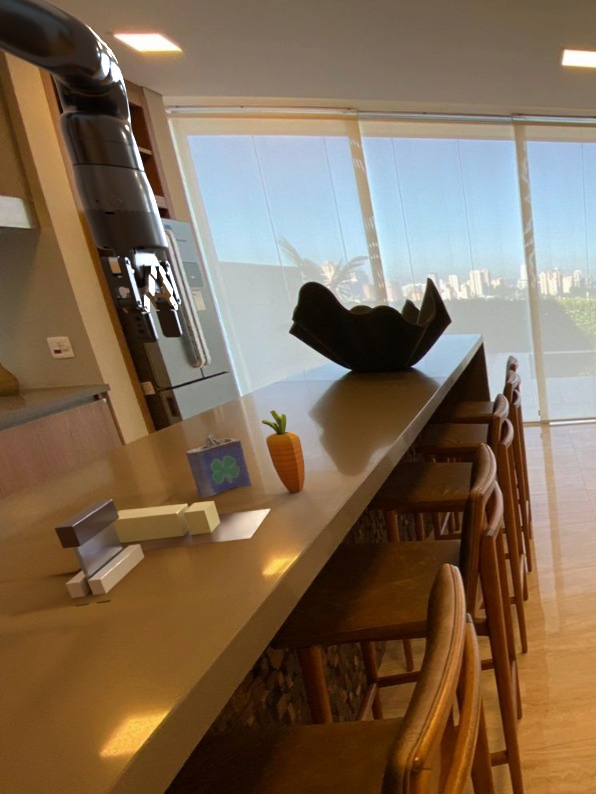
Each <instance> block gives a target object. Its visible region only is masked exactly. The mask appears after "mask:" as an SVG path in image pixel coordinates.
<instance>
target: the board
mask: <svg viewBox="0 0 596 794" xmlns="http://www.w3.org/2000/svg"><path fill="white" fill-rule="evenodd" d="M270 511H271V508H266V509H257V510H248V511H238V512H227V513H221V514H220V513H218V516H219V520H220V524H219V525H218V526H217V527H216V528H215V529H214V530H213V531H212V533H205V534H196V535H191V534H190V531H188V532H187V533H186V534H185V535H184V536H179V537H170V538H162V539H153V540H144V541H136V542H127V543H121V545H122V548H123V550H124V549H125V548H127V547H128V546H129V545H137V544H140V546H141V549H142V552H143V553H144V552H150V551H158V550H159V551H160V550H167V549H175V548H176V549H177V548H185V547H192V546H199V545H201V546H202V545H208V544H209V545H210V544H216V543H225V542H233V541H241V540H249V539H251V538H252V536H253V535H254V534H255V532H256V530H257V529H258V528H259V526H260V525H261V524H262V522H263V521H264V519H265V518H266V516H267V515H268V514H269V512H270Z"/></svg>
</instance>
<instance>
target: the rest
mask: <svg viewBox="0 0 596 794" xmlns="http://www.w3.org/2000/svg"><path fill="white" fill-rule="evenodd" d="M144 558H145V555H144V551H143V552H142V549H141V546H140V544H137V545H129V546H128V547H127V548H125V549H124V550H123V551H122V552H121V553H120V554H118V555H117V556H116V557H115V558H114V559H113V560H111V561H110V562H109V563H108V564H107V565H106V566H104V567H103V568H102V569H101V570H100V571H99V572H97V573H96V574H95V575H94V576H93V577H92V578H91V579H89V580H88V582H87V580H86V577H85V575H84V573H83V570H82V569H81V571H79V572H78V573H77V574H76V575H75V576H73V577H72V578H70V579H69V580H68V581H67V582H65V585H66V586H65V587H66V589H67V590H68V593H69V595H70V598H71V599H74V598H75V599H76V598H82V597H86V596H87V595H88V594H89V593H90V592H91V590H92V592H91V593H92V595H93V596H96V595H106V594H107V593H108V592H110V591H111V590H112V589H113V588H114V586H116V585H117V584H118V583H119V582H121V580H122V579H124V578H125V576H127V574H128V573H129V572H130V571H132V570H133V569H134V568H135V567H136V566H137V565H138V564H139V563H140V562H141V561H142V560H143V559H144ZM88 583H89V585H90V587H89V585H88ZM90 588H91V589H90ZM111 601H112V600H111V599H108V600H101V601H96V604H103V603H110V602H111ZM90 604H91V602H86V603H79V604H75V605H74V607H83V606H89V605H90Z"/></svg>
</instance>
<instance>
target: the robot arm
mask: <svg viewBox="0 0 596 794" xmlns="http://www.w3.org/2000/svg"><path fill="white" fill-rule="evenodd" d="M0 51H1V52H3V53H6V54H8V55H10V56H13V57H15V58H17V59H19V60H22V61H24V62H26V63H28V64H30V65H31V66H35V67H36V68H38V69H40V70H42V71H44V72H46V73H48V74H50V75H52V78H53V80H54V83H55V86H56V89H57V93H58V97H59V100H60V105H61V108H62V111H63V113H61V114H60V115H59V118H58V123H59V129H60V133H61V137H62V141H63V144H64V146H65V150H66V153H67V156H68V158H69V159H68V160H69V161H70V165H71V168H72V172H73V177H74V183H75V187H76V191H77V194H78V198H79V200H80V204H81V206H82V210H83V213H84V216H85V218H86V222H87V224H88V228H89V230H90V234H91V236H92V240H93V243H94V244H95V246H96V248H98V249H100V250H104V251H112V252H113V256H101V257H100V262H101V266H102V269H103V271H104V272H103V273H104V275H105V278H106V281H107V285H108V288H109V291H110V294H111V298H112V301H113V305H114V306H115V307H116V308H117V309H122V310H123V311H124V313H126V314H128V318H129V321H130V323H131V328H132V331H133V333H134V336H135V339H136V341H137V342H138V343H139V344H153V343H157V342H159V340H160V339H159V334H158V333H157V328H156V326H155V322H154V319H153V315H152V313H151V312H150V311H151V310H150V309H151V307H150V305H151V304H152V306H153V307H154V309H155V313H156V316H157V320H158V323H159V326H160V329H161V333H162V335H163V337H164V338H166V339H167V338H169V339H170V338H181V337H183V335H184V333H183V331H182V326H181V323H180V320H179V316H178V313H177V310H179V309H178V307H179V305H181V304H182V299H181V298H180V297H181V296H180V294H179V291H178V288H177V285H176V282H175V278H174V275H173V272H172V269H171V264H170V263H169V261H168V260H158V258H157V256H156V252H166V251H168V250H169V246H170V245H169V243H168V239H167V237H166V232H165V229H164V225H163V222H162V219H161V215H160V212H159V208H158V205H157V201H156V197H155V195H154V192H153V189H152V187H151V184H150V182H149V179H148V178H147V174H146V172H145V171H146V170H145V167H144V163H143V161H142V157H141V154H140V150H139V148H138V144H137V141H136V139H135V135H134V133H133V129H132V122H131V113H130V107H129V100H128V95H127V90H126V89H127V88H126V85H125V80H124V77H123V74H122V70H121V68H120V65H119V63H118V61H117V59H116V57H115V55H114V53H113V52H112V50H111V49H110V48H109V47H108V46H107V44H106V43H105V42H104V41H103V40H102V39H101V38H100V37H99V36H98V35H97V34H96V33H95V32H94V31H93V29H91V27H90V26H88V25H87V24H86V23H85V22H84V21H83V20H81V19H79V18H78V17H76V15H74V14H72V13H71V12H69V11H67V10H65V9H63V8H61V7H59V6H57V5H55V4H53V3H52V2H49V1H47V0H0ZM150 303H151V304H150Z"/></svg>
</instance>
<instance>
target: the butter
mask: <svg viewBox="0 0 596 794" xmlns="http://www.w3.org/2000/svg"><path fill="white" fill-rule="evenodd" d="M188 505H189V504H188V503H179V504H169V505H159V506H151V507H141V508H130V509H121V510H119V511H117V512H118V515H119V518H118V519H117V520H116V521H114V522H113V524H114V527H115V529H116V532H117V535H118V537H119V540H120V543H127V542H136V541H144V540H153V539H162V538H170V537H179V536H184V535H185V534H186V533H187V532H188V531H189V528H188V525H187V522H186V518H185V515H184V512H185V511H186V510H187V509H188V508H189V506H188Z"/></svg>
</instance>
